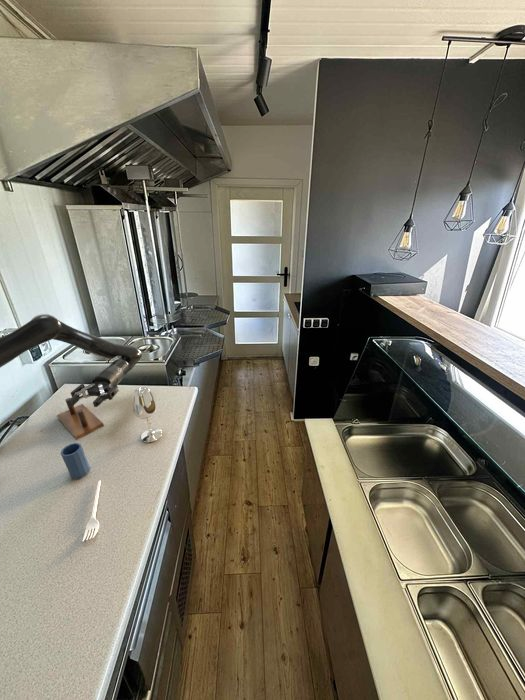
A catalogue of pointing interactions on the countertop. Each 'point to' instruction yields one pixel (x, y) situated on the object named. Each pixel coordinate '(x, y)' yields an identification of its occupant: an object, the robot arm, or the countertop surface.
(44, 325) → the robot arm
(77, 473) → the tube peg
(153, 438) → the wineglass
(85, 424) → the peg rack
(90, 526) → the fork
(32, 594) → the countertop surface
